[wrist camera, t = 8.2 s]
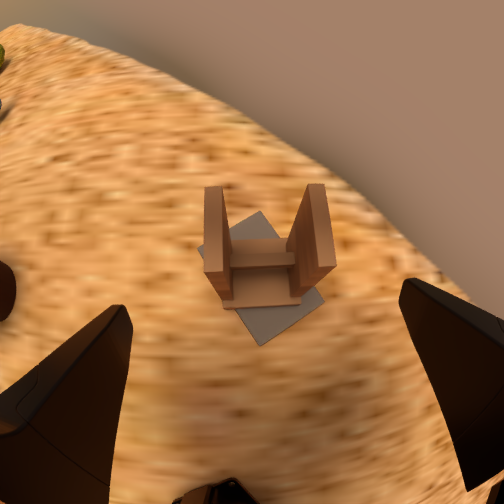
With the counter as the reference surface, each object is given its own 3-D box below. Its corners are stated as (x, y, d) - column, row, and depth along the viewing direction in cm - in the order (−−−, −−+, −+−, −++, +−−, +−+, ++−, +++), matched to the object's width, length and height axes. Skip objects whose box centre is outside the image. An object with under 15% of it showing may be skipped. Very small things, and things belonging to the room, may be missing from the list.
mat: (323, 302, 22) (324, 301, 21) (259, 346, 21) (259, 346, 20) (260, 212, 24) (260, 210, 24) (197, 249, 23) (196, 248, 23)
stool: (298, 305, 21) (338, 277, 12) (224, 309, 21) (203, 283, 12) (293, 242, 23) (322, 174, 13) (222, 245, 23) (205, 177, 13)
